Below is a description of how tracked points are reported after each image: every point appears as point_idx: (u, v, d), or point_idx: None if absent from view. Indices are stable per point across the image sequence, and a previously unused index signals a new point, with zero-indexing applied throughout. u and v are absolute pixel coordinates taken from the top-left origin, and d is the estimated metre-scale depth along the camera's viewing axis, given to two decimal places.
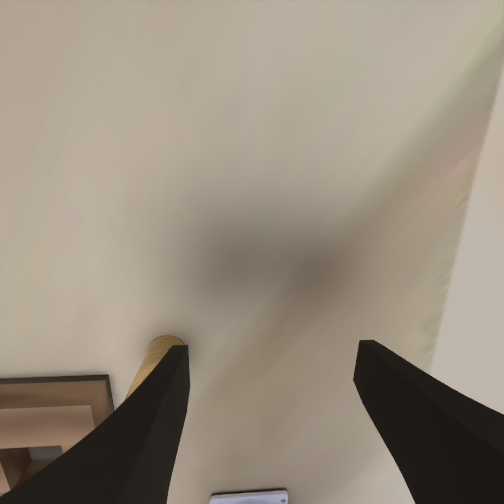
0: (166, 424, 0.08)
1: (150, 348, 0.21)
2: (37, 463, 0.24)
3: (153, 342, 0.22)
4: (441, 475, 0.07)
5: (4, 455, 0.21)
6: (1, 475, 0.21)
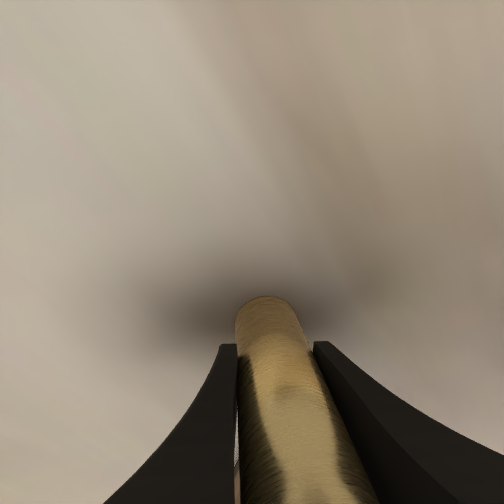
0: (232, 421, 0.08)
1: None
2: None
3: None
4: (370, 480, 0.07)
5: None
6: None
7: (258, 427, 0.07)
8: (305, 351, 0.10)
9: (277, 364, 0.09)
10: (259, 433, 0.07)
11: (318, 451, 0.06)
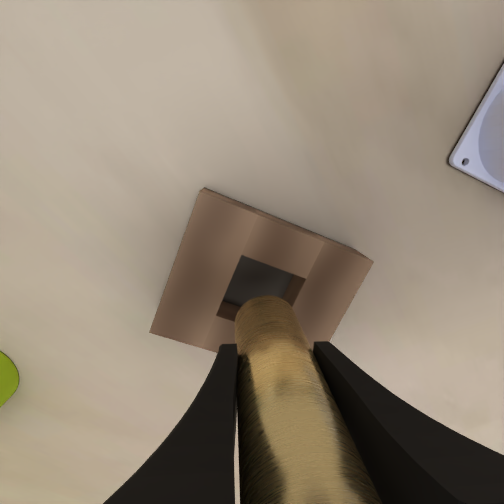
0: (232, 421, 0.08)
1: None
2: None
3: None
4: None
5: (233, 318, 0.19)
6: None
7: (256, 424, 0.07)
8: (303, 348, 0.10)
9: (275, 362, 0.09)
10: (257, 430, 0.07)
11: (316, 446, 0.06)
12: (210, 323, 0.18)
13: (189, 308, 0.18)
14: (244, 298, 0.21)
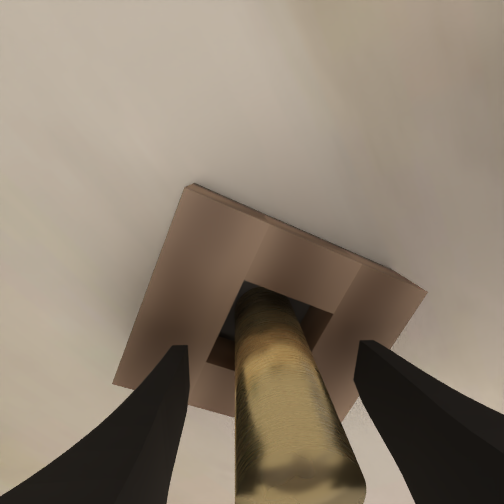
0: (166, 424, 0.08)
1: None
2: None
3: None
4: (441, 475, 0.07)
5: (229, 363, 0.14)
6: None
7: (250, 391, 0.08)
8: (295, 331, 0.11)
9: (269, 341, 0.10)
10: (251, 396, 0.08)
11: (299, 406, 0.07)
12: (198, 372, 0.13)
13: None
14: None
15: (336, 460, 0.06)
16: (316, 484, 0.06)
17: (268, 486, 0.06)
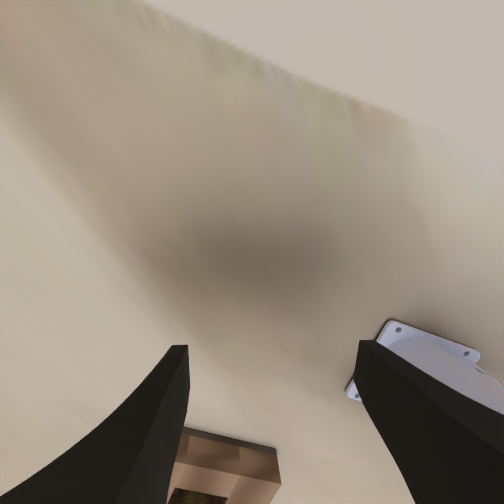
0: (166, 424, 0.08)
1: None
2: (213, 499, 0.26)
3: None
4: (441, 475, 0.07)
5: None
6: None
7: None
8: None
9: None
10: None
11: None
12: None
13: None
14: None
15: None
16: None
17: None
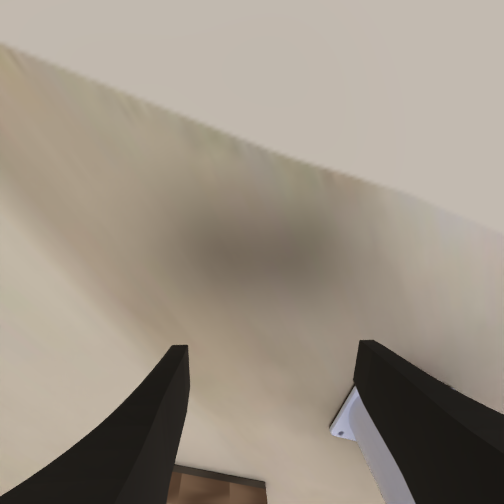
0: (166, 424, 0.08)
1: None
2: None
3: None
4: (441, 475, 0.07)
5: None
6: None
7: None
8: None
9: None
10: None
11: None
12: None
13: None
14: None
15: None
16: None
17: None
